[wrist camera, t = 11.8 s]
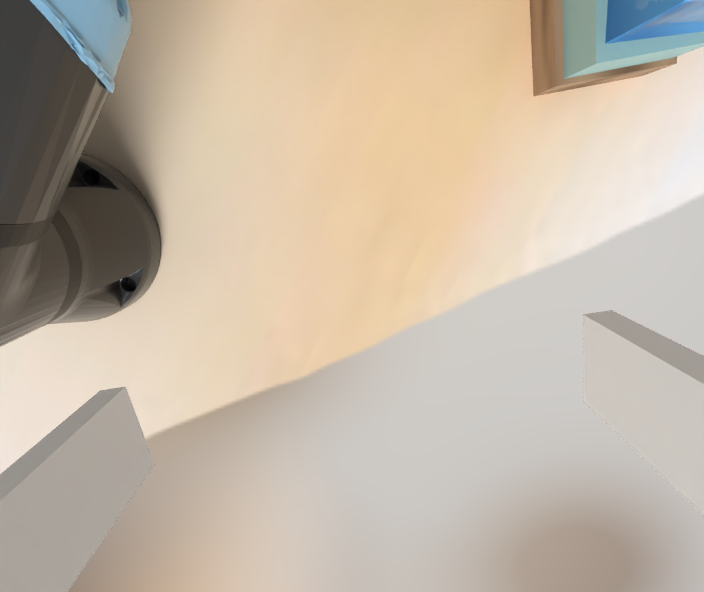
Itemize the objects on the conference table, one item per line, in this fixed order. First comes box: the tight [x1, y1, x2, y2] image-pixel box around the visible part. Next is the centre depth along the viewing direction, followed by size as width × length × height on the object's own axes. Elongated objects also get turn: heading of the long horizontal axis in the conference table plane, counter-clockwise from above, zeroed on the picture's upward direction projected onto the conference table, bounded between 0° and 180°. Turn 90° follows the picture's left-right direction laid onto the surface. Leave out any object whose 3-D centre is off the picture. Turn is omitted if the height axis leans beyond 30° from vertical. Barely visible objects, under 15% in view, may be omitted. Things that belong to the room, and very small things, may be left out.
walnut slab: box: [530, 0, 677, 96], centre depth 30 cm, size 9×9×4 cm
